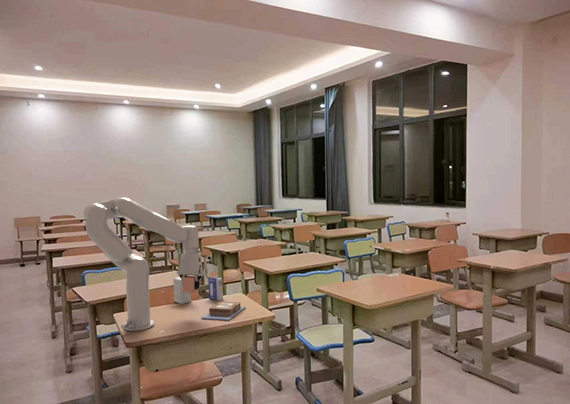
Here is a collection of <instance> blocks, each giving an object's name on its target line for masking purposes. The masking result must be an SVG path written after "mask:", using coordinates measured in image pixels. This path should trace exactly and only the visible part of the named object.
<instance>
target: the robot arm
mask: <svg viewBox="0 0 570 404" xmlns="http://www.w3.org/2000/svg"><path fill="white" fill-rule="evenodd" d="M83 217H84V219H85V231H86V234H87V236H88V237H89V239H90V240H91V241H92V242H93V243H94V244H95V245H96V246H97V247H98V248H99V249H100V250H101V251H102V252H103V253H104V256H105V258H107V259H108V260H109V261H110V262H111V263H112V264H114V265H115V266H116V267H117V268H118V269H120V270H121V271H122V272H123V273H125V275H126V280H125V281H126V282H125V286H126V287H125V288H126V289H125V290H126V310H127V319H126V321H125V323H123V324H122V325H121V326H120V328H121V329H122V330H125V331H130V332H138V331H144V330H147V329H150V328H152V327H153V326H154V325H155V321H154V320H153V319H151V306H150V305H151V303H150V301H151V300H150V287H149V285H150V284H149V283H150V282H149V279H150V277H149V276H150V265H149V263H148V261H147V259H146V258H144V257H143V256H141V255H138V254H136V252H134V250H132V249H131V248H130V246H129V244H128V243H127V242H125V241H124V240H123V239H122V238H120V236H119V235H118V234H116V233H115V232H114V231H113V230H112V229H111V228H110V227H109V225H108V220H112V219H116V218H119V217H121V218H123V219H125V220H127V221H129V222H131V223H132V224H134V225H137V226H139V227H140V228H142V229H145V230H147V231H150V232H154V233H157V234H159V235H161V236H163V237H165V238H166V240H167V241H169V242H173V243H176V244H182V253H181V254H180V255H181V256H180V262H179V268H178V270H177V271H176V275H178V277H180V278H181V279H182V281H183V277H186V276H188V275H192V276H194V277H195V280H196V281H195V290H196V289H199V290H200V281H201V279H202V278H203V277H204V276H205V275H206V272H205V270H203V261H202V256H201V252H202V249H201V248H200V247H199V246H200V245H199V227H198V225H184V226H182V225H180V224H178V223H176V222H174V221H172V220H170V219H168V218H166V217H165V216H162V215H161V214H159V213H157V212H156V211H155V212H154V211H153V210H151V209H149V208H148V207H145V206H144V205H142V204H139V203H138V202H137V201H134V200H132V199H131V198H128V197H117V198H114V199H110V200H109V199H108V200H104V201H99V202H95V203H90V204H88V205H87V206H86V207H85V208H84V210H83Z"/></svg>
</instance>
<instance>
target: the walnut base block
mask: <svg viewBox="0 0 570 404" xmlns="http://www.w3.org/2000/svg"><path fill="white" fill-rule="evenodd" d="M241 307H242V306H241V302H237V301H222V300H219V302H217V303H216V304H214V305H212V306H210V307H209V309H208V312H209V315H224V316H231V315H232V314H234V313H235V312H236V311H238V310H239V309H240V308H241Z"/></svg>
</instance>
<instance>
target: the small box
mask: <svg viewBox="0 0 570 404" xmlns="http://www.w3.org/2000/svg"><path fill="white" fill-rule="evenodd" d="M173 300H174V302H176V303H177V304H180V305H183V304H186V303H191V302H192V293H189V292H183V281H182V279H181V278H180V276H178V277H173Z"/></svg>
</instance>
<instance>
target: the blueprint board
mask: <svg viewBox="0 0 570 404" xmlns="http://www.w3.org/2000/svg"><path fill="white" fill-rule="evenodd" d="M240 307H241V308H240V309H239V310H238V311H236V312H235V313H234V314H232V315H231V316H224V315H209V313H207V314H205V315H204V316H202V317H201V319H202V320H210V321H211V320H212V321H224V322H225V321H226V322H230V321H231V320H232V319H233V318H235V317H236V316H238V314H240V313H241V312H243V311H244V310H245V309H246V306H240Z"/></svg>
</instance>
